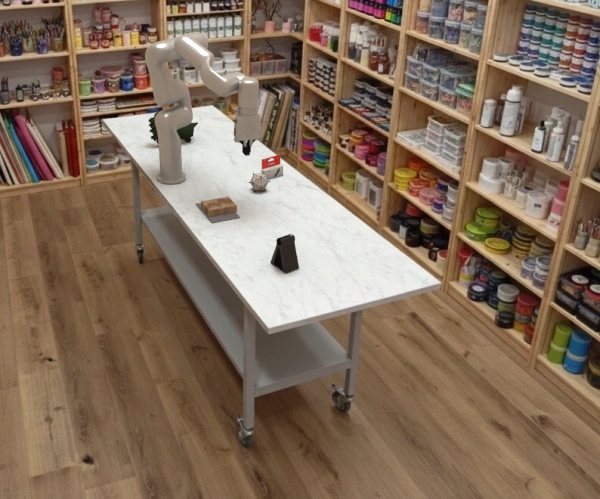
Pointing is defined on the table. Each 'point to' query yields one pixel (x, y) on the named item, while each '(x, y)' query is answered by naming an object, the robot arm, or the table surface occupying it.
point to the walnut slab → (218, 206)
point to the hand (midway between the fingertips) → (246, 154)
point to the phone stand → (285, 254)
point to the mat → (220, 217)
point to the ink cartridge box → (272, 167)
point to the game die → (259, 181)
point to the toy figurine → (183, 132)
